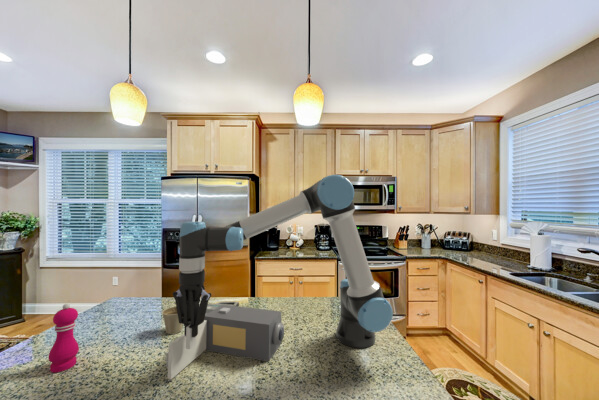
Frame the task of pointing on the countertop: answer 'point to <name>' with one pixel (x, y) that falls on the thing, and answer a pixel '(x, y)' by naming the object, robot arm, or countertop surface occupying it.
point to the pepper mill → (64, 340)
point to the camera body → (244, 331)
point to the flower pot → (172, 320)
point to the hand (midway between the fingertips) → (190, 346)
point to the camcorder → (213, 306)
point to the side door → (184, 351)
